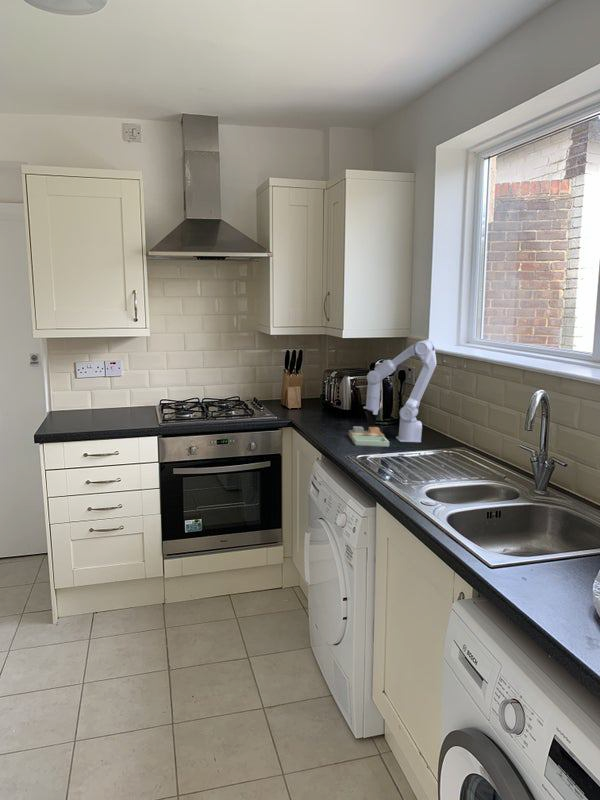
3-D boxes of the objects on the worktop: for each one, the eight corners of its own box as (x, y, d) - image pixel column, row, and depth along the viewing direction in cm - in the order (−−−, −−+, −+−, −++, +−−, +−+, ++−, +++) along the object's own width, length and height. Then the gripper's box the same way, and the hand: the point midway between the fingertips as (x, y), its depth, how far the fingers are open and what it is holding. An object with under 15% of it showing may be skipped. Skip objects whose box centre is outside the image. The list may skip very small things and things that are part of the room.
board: (379, 436, 269) (380, 431, 268) (383, 441, 261) (384, 435, 260) (348, 435, 267) (349, 430, 267) (351, 439, 260) (352, 434, 259)
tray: (384, 441, 260) (384, 436, 260) (389, 446, 252) (389, 441, 251) (351, 440, 259) (352, 435, 259) (355, 445, 250) (356, 440, 250)
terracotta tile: (377, 431, 267) (377, 427, 267) (379, 433, 263) (379, 429, 263) (368, 431, 267) (368, 426, 266) (370, 433, 263) (370, 428, 263)
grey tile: (361, 431, 267) (362, 426, 266) (363, 433, 263) (363, 428, 262) (352, 430, 266) (353, 426, 266) (354, 432, 262) (354, 428, 262)
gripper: (361, 394, 276) (359, 423, 278) (367, 399, 262) (365, 430, 264) (376, 394, 277) (374, 424, 279) (383, 400, 263) (381, 431, 265)
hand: (370, 427), depth 272 cm, fingers closed
